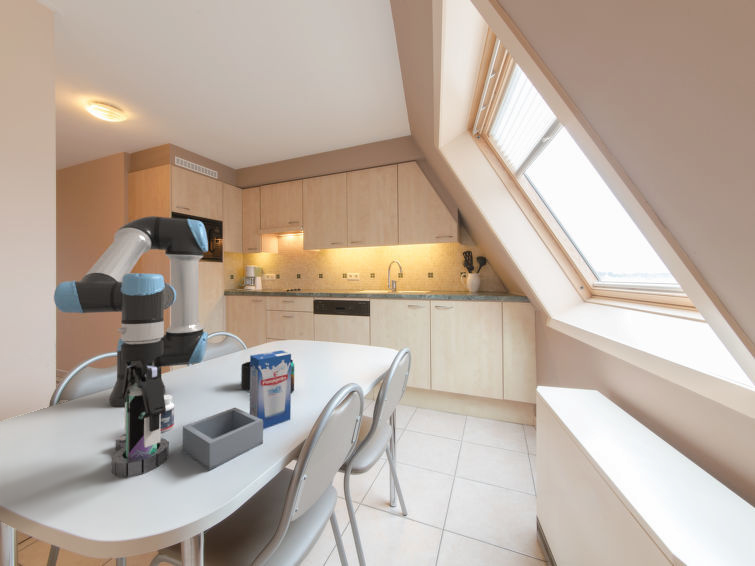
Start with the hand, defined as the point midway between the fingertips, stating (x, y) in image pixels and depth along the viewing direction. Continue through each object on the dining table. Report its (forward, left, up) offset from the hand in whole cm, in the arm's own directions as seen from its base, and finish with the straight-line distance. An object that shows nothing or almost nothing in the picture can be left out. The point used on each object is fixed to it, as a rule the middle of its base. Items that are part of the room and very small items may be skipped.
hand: (141, 435), depth 65 cm
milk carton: (+7, +29, -6) cm, 31 cm away
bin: (+9, +14, -6) cm, 18 cm away
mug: (-22, +43, -6) cm, 49 cm away
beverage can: (-8, +46, -6) cm, 47 cm away
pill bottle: (-14, +9, -6) cm, 18 cm away
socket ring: (-4, 0, -6) cm, 7 cm away
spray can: (0, 0, -6) cm, 6 cm away
